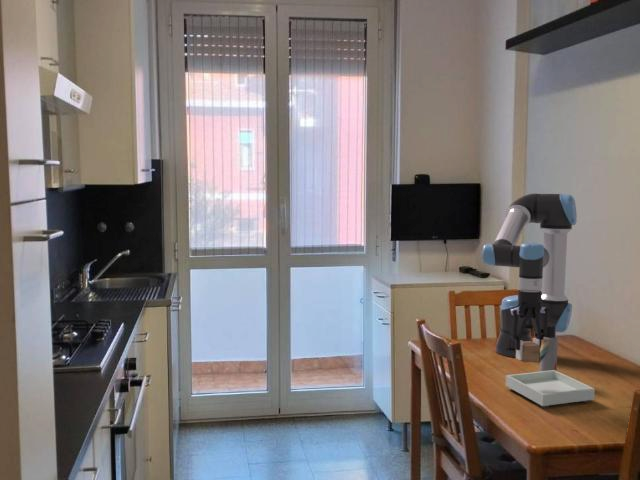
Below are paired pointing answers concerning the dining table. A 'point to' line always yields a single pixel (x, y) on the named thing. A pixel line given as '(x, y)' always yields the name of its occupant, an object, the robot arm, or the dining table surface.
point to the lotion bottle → (549, 349)
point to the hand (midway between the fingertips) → (527, 358)
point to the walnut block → (530, 352)
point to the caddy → (550, 388)
